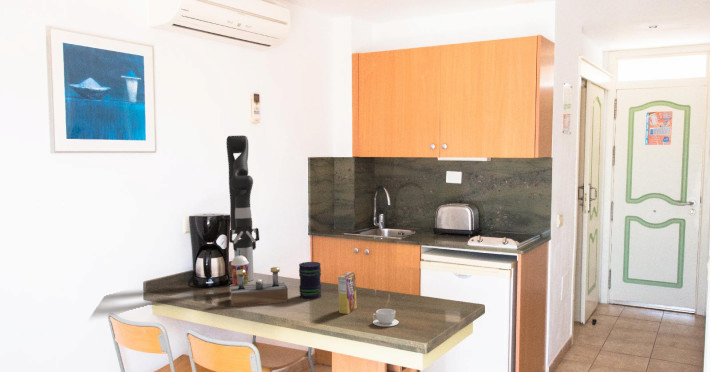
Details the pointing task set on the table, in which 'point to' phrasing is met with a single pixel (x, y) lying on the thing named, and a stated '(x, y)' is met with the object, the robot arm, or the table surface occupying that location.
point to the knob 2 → (275, 275)
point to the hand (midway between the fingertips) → (244, 250)
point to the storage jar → (310, 280)
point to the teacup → (385, 317)
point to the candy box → (347, 292)
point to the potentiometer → (259, 285)
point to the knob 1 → (240, 278)
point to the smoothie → (239, 268)
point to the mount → (259, 294)
